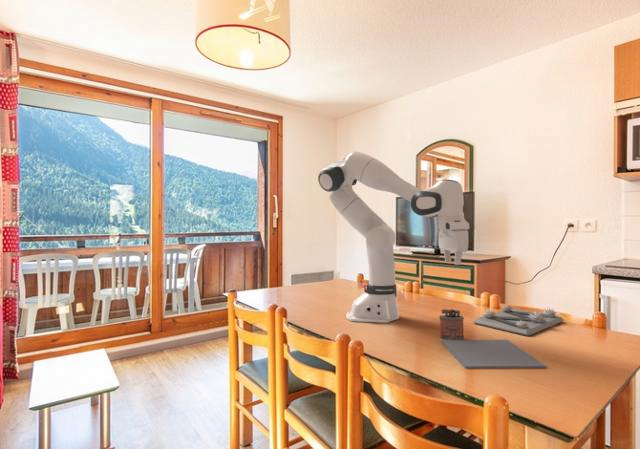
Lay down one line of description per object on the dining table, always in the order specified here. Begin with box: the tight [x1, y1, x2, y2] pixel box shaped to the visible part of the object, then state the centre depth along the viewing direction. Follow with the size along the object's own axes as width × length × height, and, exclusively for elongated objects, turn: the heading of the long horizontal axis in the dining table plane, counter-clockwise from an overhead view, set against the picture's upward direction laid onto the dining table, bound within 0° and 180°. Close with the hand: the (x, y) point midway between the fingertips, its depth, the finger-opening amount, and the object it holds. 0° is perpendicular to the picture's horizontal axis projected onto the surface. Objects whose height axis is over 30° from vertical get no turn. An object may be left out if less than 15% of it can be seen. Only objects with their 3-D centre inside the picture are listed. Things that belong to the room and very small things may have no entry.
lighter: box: [439, 308, 465, 340], centre depth 125 cm, size 8×3×10 cm, turn 84°
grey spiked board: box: [472, 304, 565, 337], centre depth 142 cm, size 30×22×7 cm
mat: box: [440, 339, 547, 369], centre depth 110 cm, size 22×22×1 cm
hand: (452, 263), depth 129 cm, fingers open, 8 cm apart
